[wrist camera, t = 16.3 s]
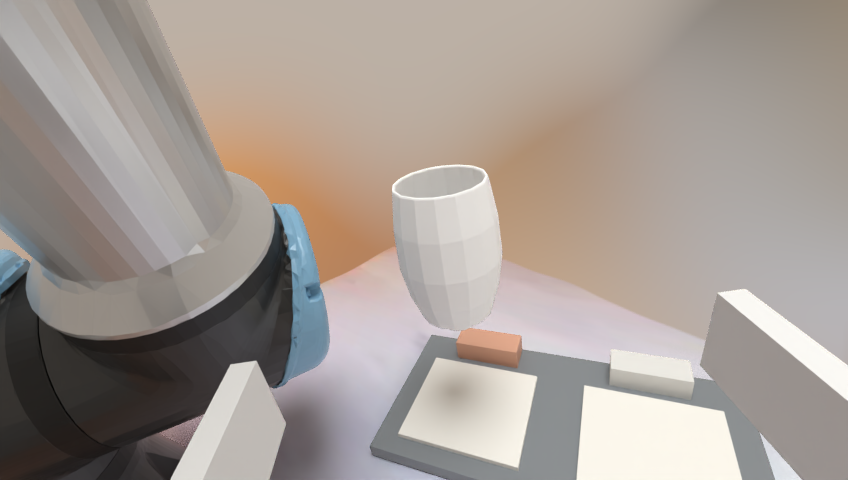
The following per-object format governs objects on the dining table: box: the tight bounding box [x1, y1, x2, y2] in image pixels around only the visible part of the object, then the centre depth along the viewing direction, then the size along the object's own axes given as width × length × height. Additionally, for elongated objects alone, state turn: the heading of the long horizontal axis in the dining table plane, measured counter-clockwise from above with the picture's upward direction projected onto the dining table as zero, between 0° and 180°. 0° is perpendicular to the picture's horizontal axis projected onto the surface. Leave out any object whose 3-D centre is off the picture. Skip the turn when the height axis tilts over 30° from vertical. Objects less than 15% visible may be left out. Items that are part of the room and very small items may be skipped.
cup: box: [392, 165, 502, 331], centre depth 30 cm, size 7×7×21 cm
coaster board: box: [370, 328, 775, 480], centre depth 33 cm, size 28×14×3 cm, turn 67°
